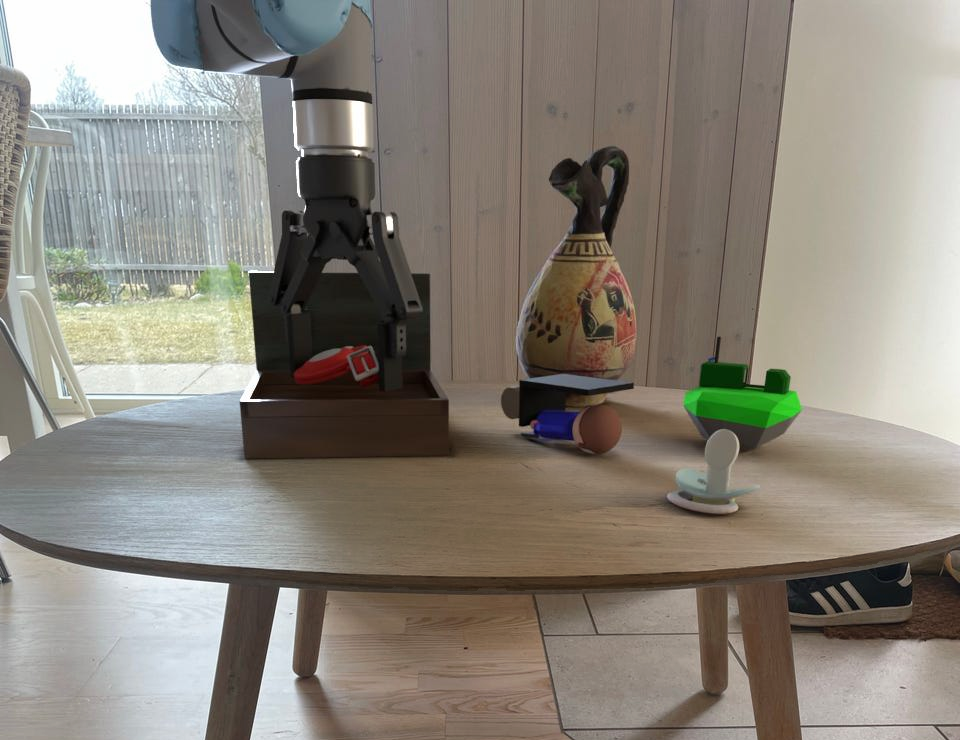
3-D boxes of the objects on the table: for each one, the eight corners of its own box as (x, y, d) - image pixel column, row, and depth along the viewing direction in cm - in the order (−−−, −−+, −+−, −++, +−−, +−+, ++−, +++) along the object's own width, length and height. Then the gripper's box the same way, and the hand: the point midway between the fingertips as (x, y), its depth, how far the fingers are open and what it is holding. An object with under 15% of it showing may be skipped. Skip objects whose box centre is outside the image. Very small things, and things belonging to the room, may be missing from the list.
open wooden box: (448, 455, 93) (449, 285, 86) (244, 458, 90) (228, 283, 83) (430, 415, 112) (429, 273, 105) (261, 416, 109) (249, 271, 102)
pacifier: (722, 524, 73) (765, 509, 77) (730, 446, 70) (775, 434, 74) (650, 504, 78) (694, 490, 82) (655, 430, 75) (701, 419, 79)
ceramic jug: (577, 416, 112) (593, 137, 100) (490, 398, 123) (495, 143, 110) (662, 401, 123) (687, 147, 110) (576, 386, 133) (590, 151, 121)
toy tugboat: (666, 451, 96) (677, 341, 91) (697, 431, 105) (708, 330, 101) (784, 466, 91) (802, 350, 86) (805, 444, 100) (823, 338, 96)
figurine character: (497, 448, 102) (588, 460, 90) (494, 377, 100) (587, 380, 88) (544, 441, 106) (637, 452, 94) (542, 373, 103) (638, 374, 92)
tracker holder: (272, 373, 97) (322, 340, 104) (288, 413, 99) (336, 378, 106) (365, 354, 91) (411, 321, 98) (381, 397, 93) (425, 361, 100)
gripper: (459, 154, 85) (457, 391, 94) (278, 160, 98) (292, 367, 107) (405, 148, 80) (409, 401, 88) (221, 155, 93) (241, 374, 102)
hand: (345, 383), depth 98 cm, fingers closed on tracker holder, 12 cm apart
